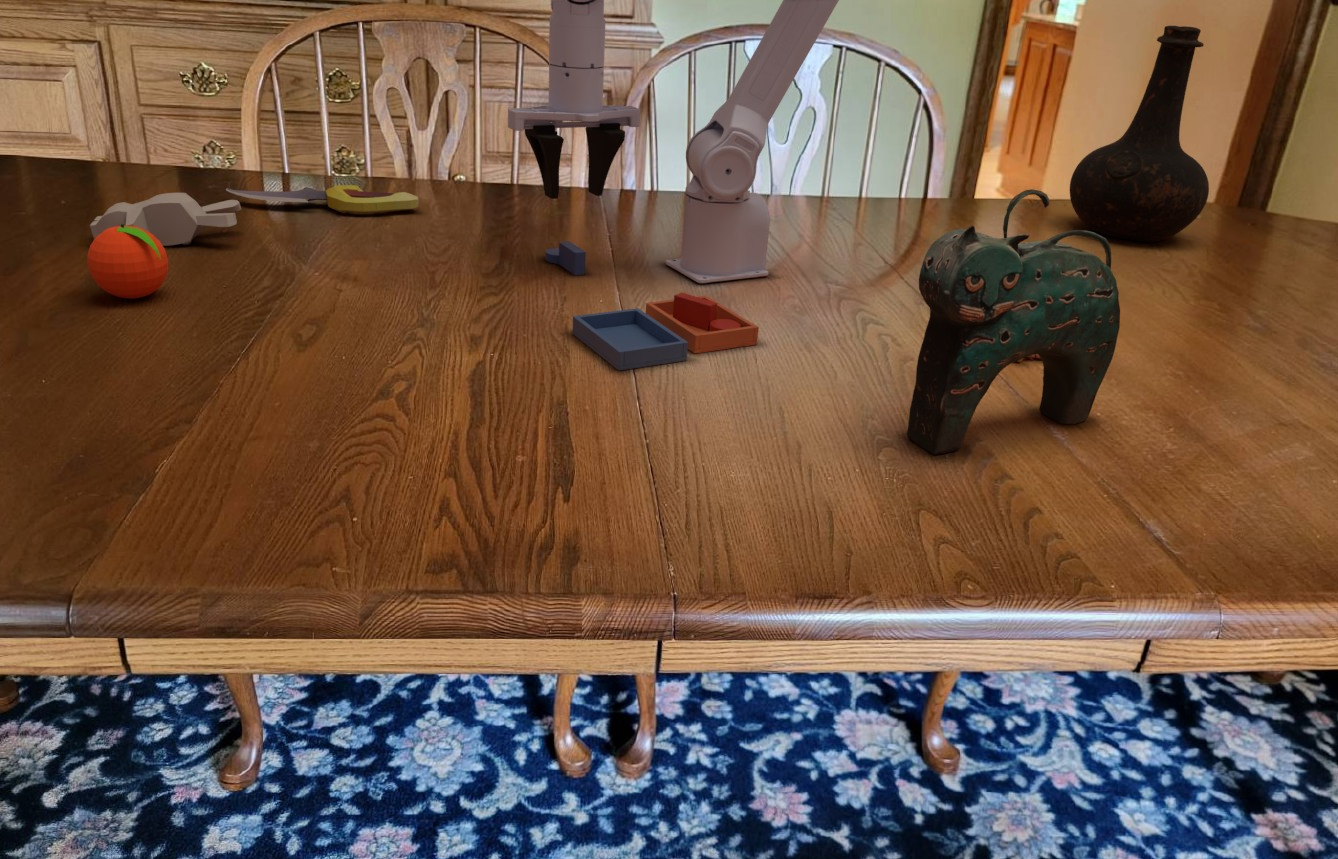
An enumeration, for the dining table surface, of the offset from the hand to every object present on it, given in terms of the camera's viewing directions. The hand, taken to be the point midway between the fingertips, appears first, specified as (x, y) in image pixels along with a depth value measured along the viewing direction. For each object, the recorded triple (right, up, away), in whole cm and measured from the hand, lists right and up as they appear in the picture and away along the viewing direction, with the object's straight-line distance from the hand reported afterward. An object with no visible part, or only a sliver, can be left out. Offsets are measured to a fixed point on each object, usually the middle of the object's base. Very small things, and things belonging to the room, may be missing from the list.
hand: (573, 195), depth 115 cm
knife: (-35, +3, +21) cm, 41 cm away
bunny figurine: (-46, -5, +4) cm, 46 cm away
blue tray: (+7, -18, -17) cm, 26 cm away
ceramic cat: (+37, -26, -29) cm, 54 cm away
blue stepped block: (-1, -7, +5) cm, 8 cm away
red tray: (+13, -16, -12) cm, 24 cm away
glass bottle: (+76, +2, +36) cm, 84 cm away
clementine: (-41, -13, -13) cm, 45 cm away
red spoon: (+14, -16, -12) cm, 24 cm away
